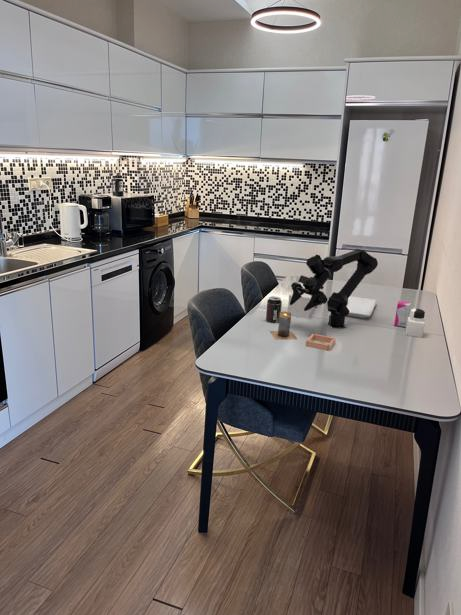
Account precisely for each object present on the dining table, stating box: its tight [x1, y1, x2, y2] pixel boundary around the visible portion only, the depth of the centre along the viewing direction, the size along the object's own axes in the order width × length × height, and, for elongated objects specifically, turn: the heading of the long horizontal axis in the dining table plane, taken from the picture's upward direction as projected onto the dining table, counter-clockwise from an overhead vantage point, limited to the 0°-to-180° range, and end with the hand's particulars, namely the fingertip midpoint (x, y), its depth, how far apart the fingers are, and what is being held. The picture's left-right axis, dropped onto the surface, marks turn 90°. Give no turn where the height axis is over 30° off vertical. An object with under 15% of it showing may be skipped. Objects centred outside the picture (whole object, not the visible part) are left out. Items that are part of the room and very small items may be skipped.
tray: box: [346, 295, 377, 319], centre depth 245 cm, size 17×32×4 cm, turn 158°
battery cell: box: [277, 311, 292, 337], centre depth 199 cm, size 5×5×10 cm
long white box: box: [286, 282, 316, 319], centre depth 242 cm, size 32×11×11 cm, turn 161°
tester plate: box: [269, 330, 298, 341], centre depth 201 cm, size 10×10×1 cm
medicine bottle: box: [405, 308, 426, 338], centre depth 212 cm, size 7×7×12 cm
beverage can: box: [265, 295, 283, 324], centre depth 217 cm, size 7×7×12 cm
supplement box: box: [393, 301, 412, 329], centre depth 223 cm, size 6×6×12 cm
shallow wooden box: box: [305, 333, 337, 352], centre depth 192 cm, size 10×10×3 cm
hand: (297, 307), depth 201 cm, fingers open, 9 cm apart
